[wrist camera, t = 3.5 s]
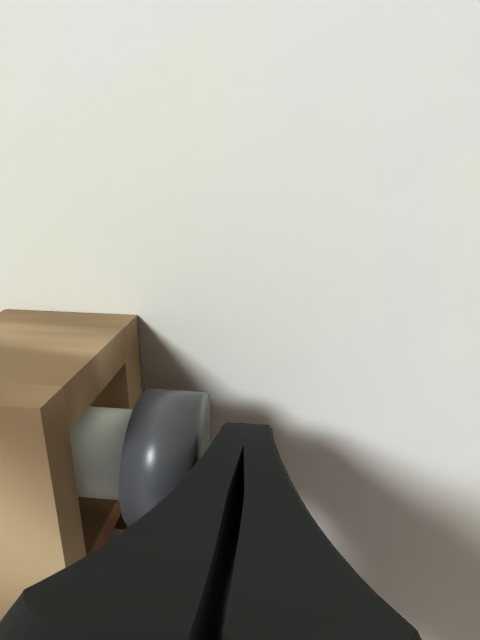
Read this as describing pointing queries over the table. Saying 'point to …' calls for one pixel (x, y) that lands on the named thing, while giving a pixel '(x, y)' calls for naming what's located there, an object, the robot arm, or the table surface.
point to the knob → (140, 448)
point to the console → (55, 436)
